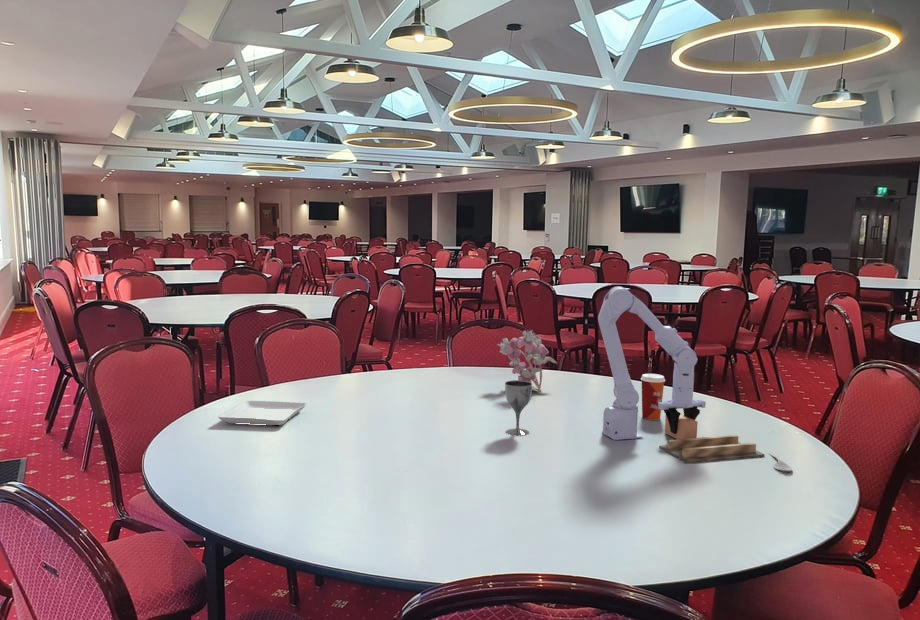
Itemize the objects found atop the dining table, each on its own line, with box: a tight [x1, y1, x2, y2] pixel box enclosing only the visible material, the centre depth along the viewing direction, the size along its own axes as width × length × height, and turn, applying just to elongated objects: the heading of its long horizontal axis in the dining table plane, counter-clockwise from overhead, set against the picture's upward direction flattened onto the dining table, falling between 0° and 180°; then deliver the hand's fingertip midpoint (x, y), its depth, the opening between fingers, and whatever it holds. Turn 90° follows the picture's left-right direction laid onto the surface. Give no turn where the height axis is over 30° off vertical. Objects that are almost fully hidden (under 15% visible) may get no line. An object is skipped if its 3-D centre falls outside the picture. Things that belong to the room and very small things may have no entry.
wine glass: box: [504, 380, 533, 437], centre depth 194 cm, size 8×8×15 cm
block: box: [664, 413, 699, 440], centre depth 191 cm, size 10×4×6 cm, turn 15°
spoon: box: [768, 451, 793, 473], centre depth 172 cm, size 4×21×2 cm, turn 165°
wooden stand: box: [659, 434, 766, 464], centre depth 179 cm, size 24×13×3 cm, turn 105°
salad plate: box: [218, 400, 307, 426], centre depth 207 cm, size 21×21×3 cm
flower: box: [497, 329, 558, 394], centre depth 250 cm, size 20×22×25 cm
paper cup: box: [640, 373, 666, 421], centre depth 211 cm, size 8×8×14 cm
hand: (680, 432), depth 191 cm, fingers closed on block, 4 cm apart
